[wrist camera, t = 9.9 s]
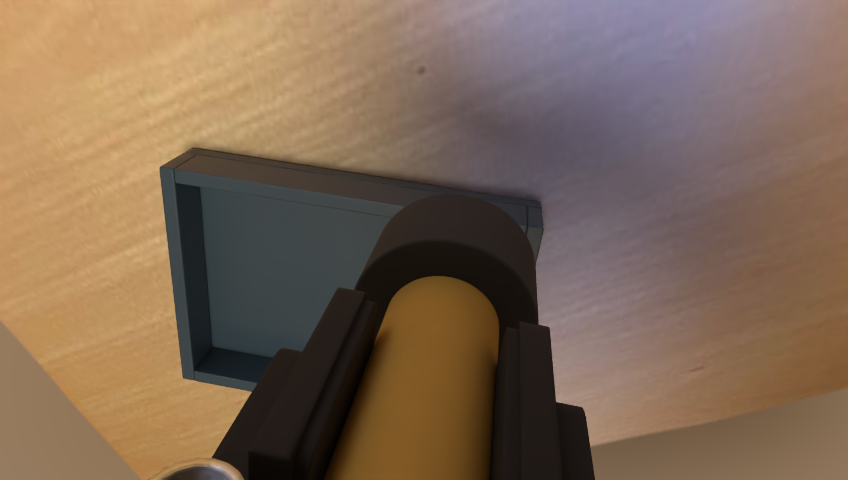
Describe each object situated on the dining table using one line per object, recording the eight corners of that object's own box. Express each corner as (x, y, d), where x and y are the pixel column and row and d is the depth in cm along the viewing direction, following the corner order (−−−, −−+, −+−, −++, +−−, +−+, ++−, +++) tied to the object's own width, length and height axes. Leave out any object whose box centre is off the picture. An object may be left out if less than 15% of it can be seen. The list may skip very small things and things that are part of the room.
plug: (551, 208, 13) (612, 656, 5) (517, 346, 15) (516, 846, 7) (383, 179, 13) (155, 550, 5) (369, 318, 15) (186, 760, 7)
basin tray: (541, 201, 27) (544, 228, 24) (497, 399, 32) (496, 438, 30) (192, 147, 28) (158, 166, 26) (208, 345, 34) (182, 379, 31)
